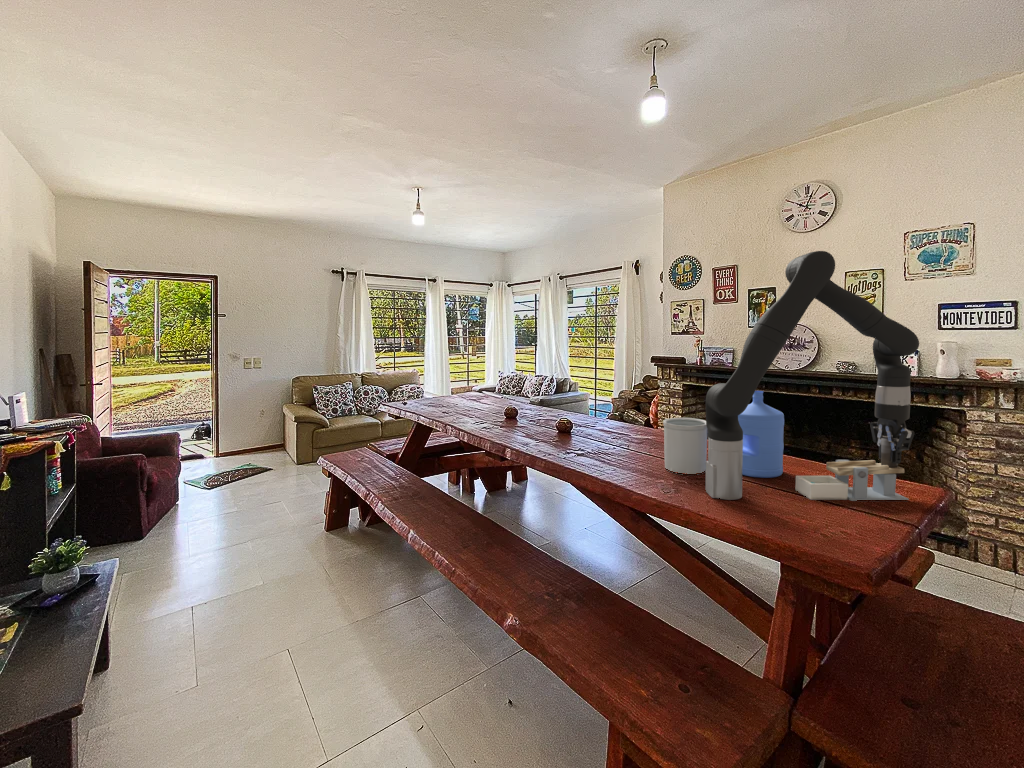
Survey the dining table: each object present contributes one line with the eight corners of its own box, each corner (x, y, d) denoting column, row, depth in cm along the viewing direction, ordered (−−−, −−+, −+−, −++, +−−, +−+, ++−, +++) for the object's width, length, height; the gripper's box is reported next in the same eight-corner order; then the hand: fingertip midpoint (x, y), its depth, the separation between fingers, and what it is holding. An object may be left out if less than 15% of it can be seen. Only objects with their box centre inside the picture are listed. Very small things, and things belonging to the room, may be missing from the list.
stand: (850, 500, 123) (852, 468, 122) (829, 489, 133) (830, 459, 132) (908, 500, 122) (910, 468, 121) (883, 489, 131) (884, 459, 131)
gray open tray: (810, 499, 125) (811, 484, 125) (795, 490, 133) (795, 475, 133) (847, 499, 124) (848, 484, 124) (829, 490, 132) (830, 475, 132)
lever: (839, 475, 125) (839, 443, 124) (826, 469, 131) (825, 438, 130) (904, 473, 123) (904, 440, 122) (888, 466, 129) (888, 435, 128)
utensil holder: (715, 475, 150) (715, 424, 148) (671, 476, 150) (671, 425, 149) (697, 463, 165) (698, 417, 163) (657, 464, 165) (657, 418, 163)
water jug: (769, 465, 159) (771, 388, 156) (792, 478, 144) (794, 393, 141) (724, 465, 161) (725, 389, 158) (742, 478, 145) (743, 394, 143)
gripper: (860, 398, 132) (858, 454, 133) (897, 405, 118) (894, 468, 119) (887, 398, 131) (885, 454, 133) (928, 405, 117) (924, 468, 118)
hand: (889, 460), depth 126 cm, fingers open, 4 cm apart
